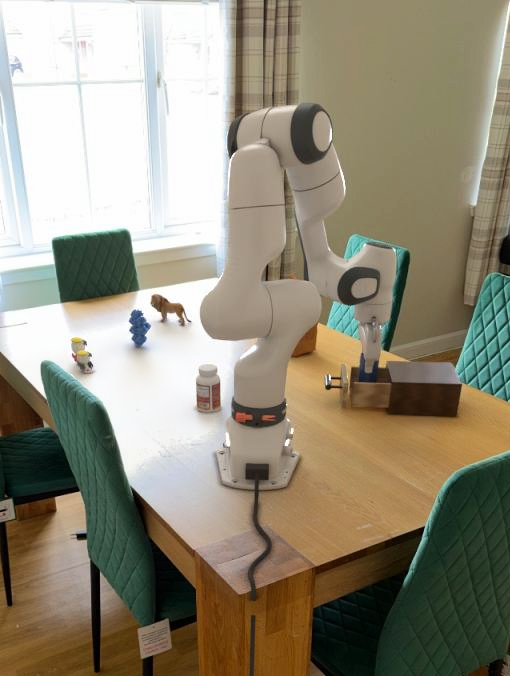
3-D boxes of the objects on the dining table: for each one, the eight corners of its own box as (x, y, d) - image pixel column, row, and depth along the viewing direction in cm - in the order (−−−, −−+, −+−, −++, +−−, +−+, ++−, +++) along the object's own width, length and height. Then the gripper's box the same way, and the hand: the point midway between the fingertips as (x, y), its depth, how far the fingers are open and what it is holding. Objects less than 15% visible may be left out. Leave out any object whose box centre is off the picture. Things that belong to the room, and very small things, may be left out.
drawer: (324, 408, 188) (326, 382, 185) (323, 387, 200) (324, 363, 196) (404, 410, 186) (407, 385, 183) (398, 390, 198) (401, 365, 194)
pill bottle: (217, 402, 195) (216, 361, 189) (223, 411, 190) (223, 370, 184) (194, 404, 193) (193, 364, 188) (199, 414, 188) (199, 372, 183)
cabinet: (388, 414, 187) (392, 381, 182) (382, 392, 199) (386, 360, 195) (456, 417, 185) (462, 384, 180) (446, 394, 198) (452, 362, 193)
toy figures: (95, 373, 213) (92, 345, 209) (80, 375, 212) (77, 347, 208) (84, 359, 223) (81, 332, 218) (70, 362, 221) (67, 334, 217)
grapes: (158, 350, 230) (157, 311, 223) (138, 353, 227) (135, 314, 221) (145, 338, 239) (143, 301, 232) (126, 341, 236) (123, 304, 230)
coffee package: (299, 341, 235) (303, 270, 223) (320, 353, 225) (325, 280, 214) (271, 346, 231) (274, 274, 220) (291, 358, 222) (295, 284, 210)
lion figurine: (148, 321, 254) (147, 295, 249) (155, 317, 258) (153, 291, 253) (188, 326, 249) (188, 299, 245) (194, 321, 254) (193, 295, 249)
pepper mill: (375, 398, 190) (381, 353, 184) (356, 398, 191) (361, 352, 184) (374, 391, 194) (379, 346, 188) (355, 391, 195) (360, 346, 188)
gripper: (390, 325, 172) (383, 381, 180) (381, 299, 190) (375, 351, 197) (363, 324, 173) (357, 380, 180) (356, 298, 190) (351, 350, 198)
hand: (366, 364), depth 189 cm, fingers open, 8 cm apart
